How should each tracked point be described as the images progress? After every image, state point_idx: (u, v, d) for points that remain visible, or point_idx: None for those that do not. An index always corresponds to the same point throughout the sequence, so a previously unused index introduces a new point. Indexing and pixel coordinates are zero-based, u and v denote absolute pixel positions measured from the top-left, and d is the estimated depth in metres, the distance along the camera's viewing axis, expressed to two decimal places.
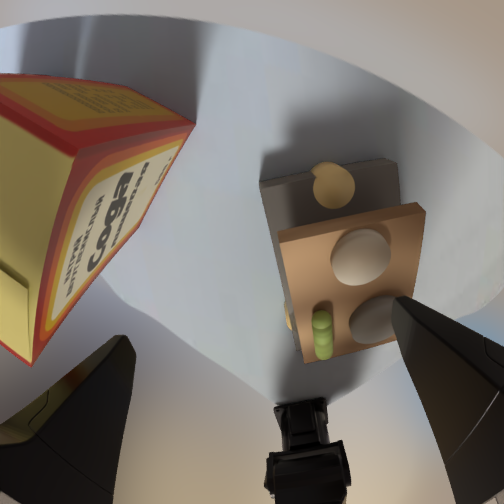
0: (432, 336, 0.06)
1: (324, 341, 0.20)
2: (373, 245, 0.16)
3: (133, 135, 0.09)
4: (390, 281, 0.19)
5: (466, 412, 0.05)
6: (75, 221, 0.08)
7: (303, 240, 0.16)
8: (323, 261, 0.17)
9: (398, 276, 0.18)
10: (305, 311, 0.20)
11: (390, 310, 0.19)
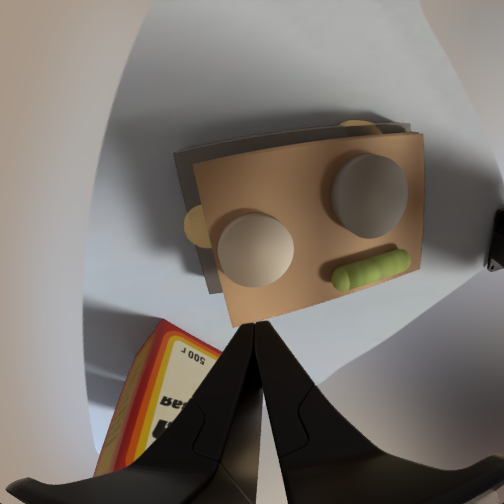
0: (259, 372, 0.07)
1: (373, 277, 0.16)
2: (232, 247, 0.14)
3: (123, 435, 0.14)
4: (307, 188, 0.14)
5: None
6: None
7: (230, 308, 0.16)
8: None
9: (300, 178, 0.14)
10: (331, 289, 0.17)
11: (350, 190, 0.14)
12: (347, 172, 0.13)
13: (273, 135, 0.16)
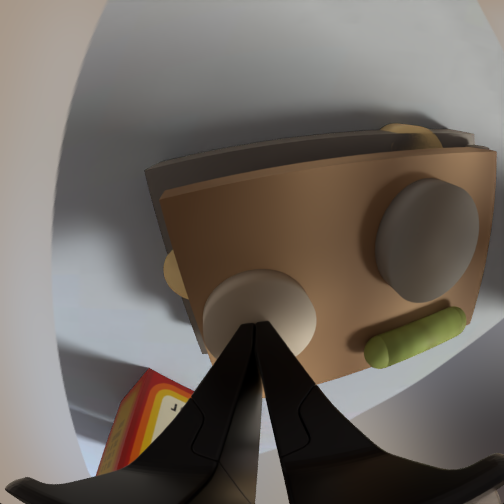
0: (260, 372, 0.07)
1: (420, 350, 0.10)
2: (222, 324, 0.09)
3: None
4: (343, 232, 0.09)
5: None
6: None
7: None
8: None
9: (332, 217, 0.09)
10: (361, 359, 0.12)
11: (407, 238, 0.08)
12: (406, 211, 0.08)
13: (292, 143, 0.11)
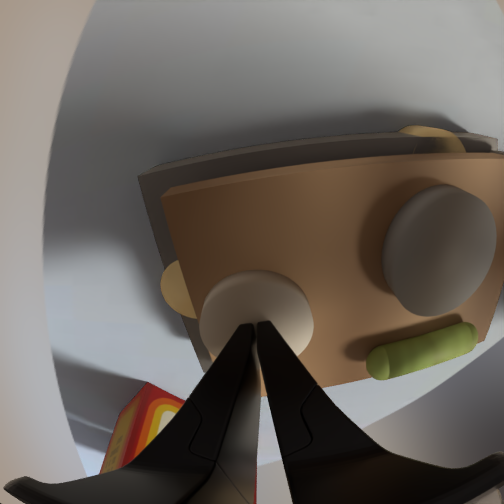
0: (262, 371, 0.07)
1: (424, 365, 0.09)
2: (218, 321, 0.09)
3: None
4: (346, 237, 0.09)
5: None
6: None
7: None
8: None
9: (335, 221, 0.08)
10: (365, 368, 0.11)
11: (414, 248, 0.08)
12: (413, 219, 0.07)
13: (305, 146, 0.10)
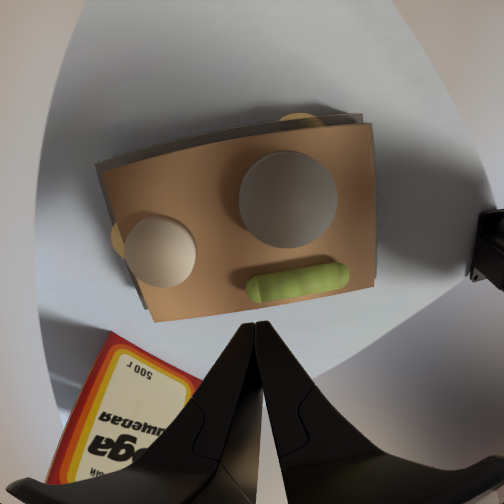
0: (259, 372, 0.07)
1: (292, 292, 0.14)
2: (134, 248, 0.14)
3: (58, 448, 0.12)
4: (211, 191, 0.14)
5: None
6: None
7: (149, 304, 0.16)
8: (173, 285, 0.16)
9: (202, 181, 0.13)
10: None
11: (252, 193, 0.13)
12: (247, 174, 0.12)
13: (194, 137, 0.14)
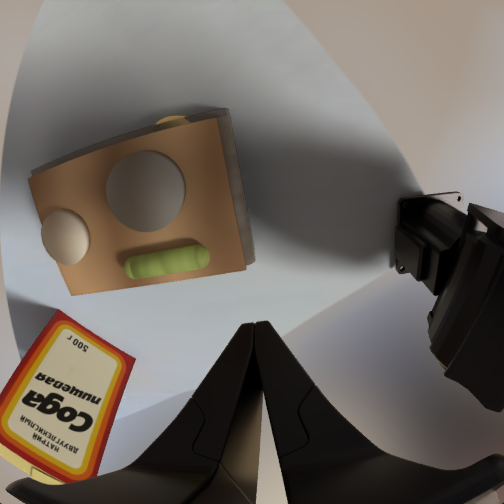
0: (259, 372, 0.07)
1: (155, 270, 0.16)
2: (47, 234, 0.16)
3: None
4: (94, 188, 0.16)
5: None
6: (17, 435, 0.13)
7: (66, 280, 0.18)
8: (78, 264, 0.18)
9: (87, 180, 0.15)
10: None
11: (114, 188, 0.15)
12: (110, 172, 0.14)
13: (92, 146, 0.16)
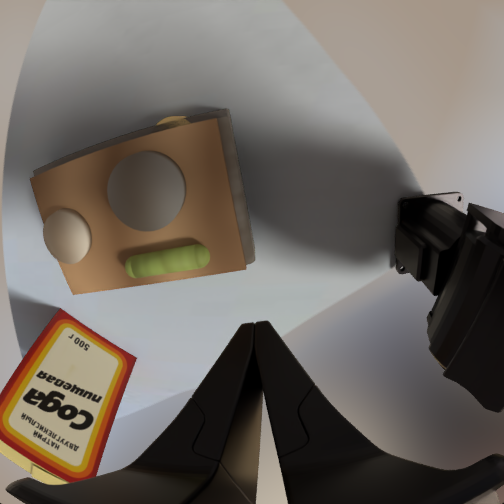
0: (259, 372, 0.07)
1: (156, 269, 0.17)
2: (49, 233, 0.16)
3: None
4: (95, 188, 0.16)
5: None
6: (18, 432, 0.13)
7: (67, 278, 0.18)
8: (80, 263, 0.18)
9: (89, 180, 0.15)
10: None
11: (115, 188, 0.15)
12: (111, 172, 0.15)
13: (93, 146, 0.17)
